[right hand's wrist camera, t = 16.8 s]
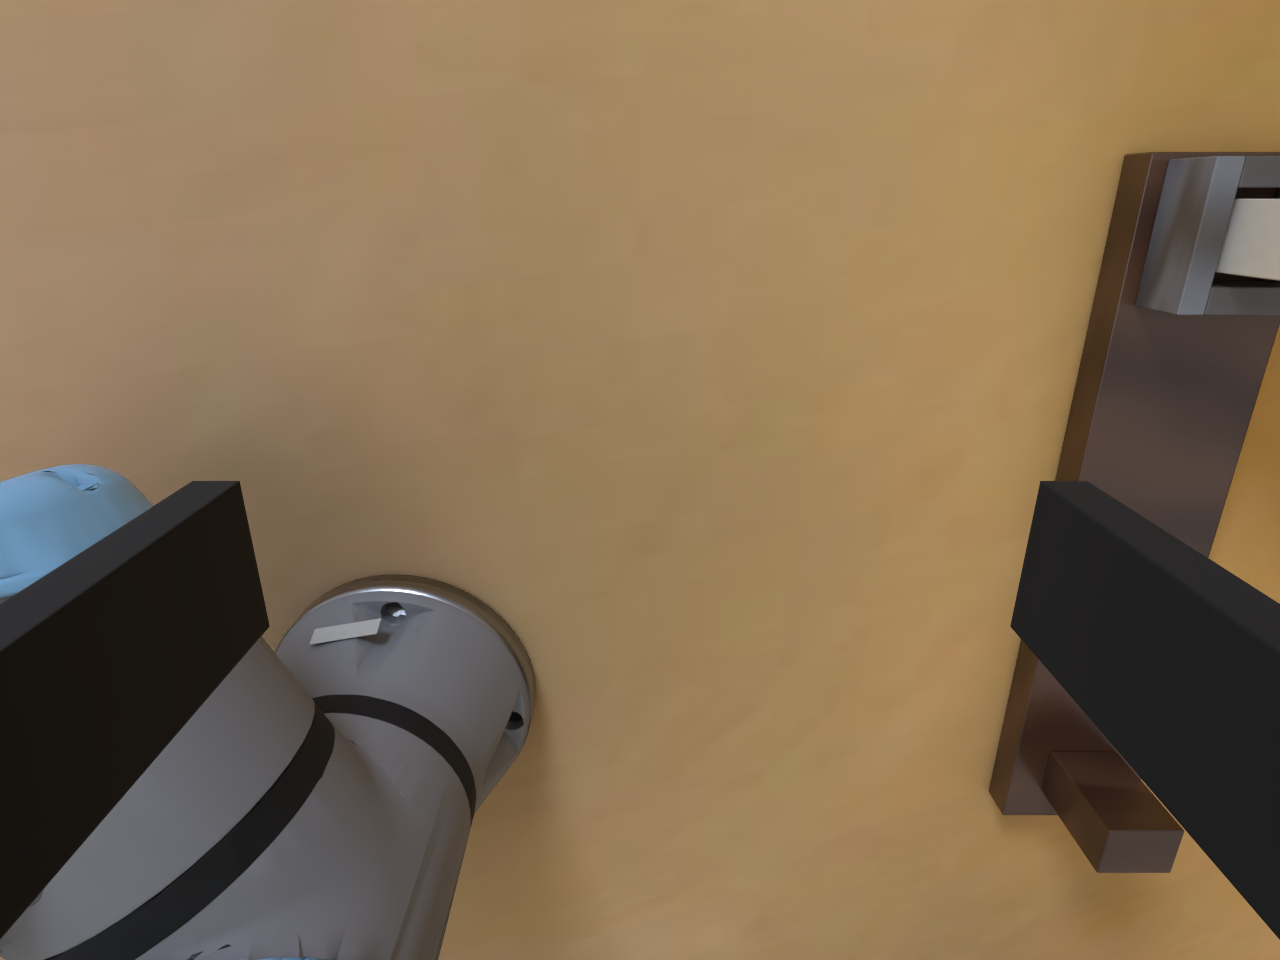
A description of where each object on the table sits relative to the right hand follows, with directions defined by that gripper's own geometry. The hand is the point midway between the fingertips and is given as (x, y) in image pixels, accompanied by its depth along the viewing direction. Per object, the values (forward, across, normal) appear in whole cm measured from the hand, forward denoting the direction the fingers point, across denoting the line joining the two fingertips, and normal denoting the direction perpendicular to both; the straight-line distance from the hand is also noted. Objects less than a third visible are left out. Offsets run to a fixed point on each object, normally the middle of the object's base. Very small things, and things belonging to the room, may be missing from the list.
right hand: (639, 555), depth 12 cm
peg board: (+27, -27, +12) cm, 40 cm away
